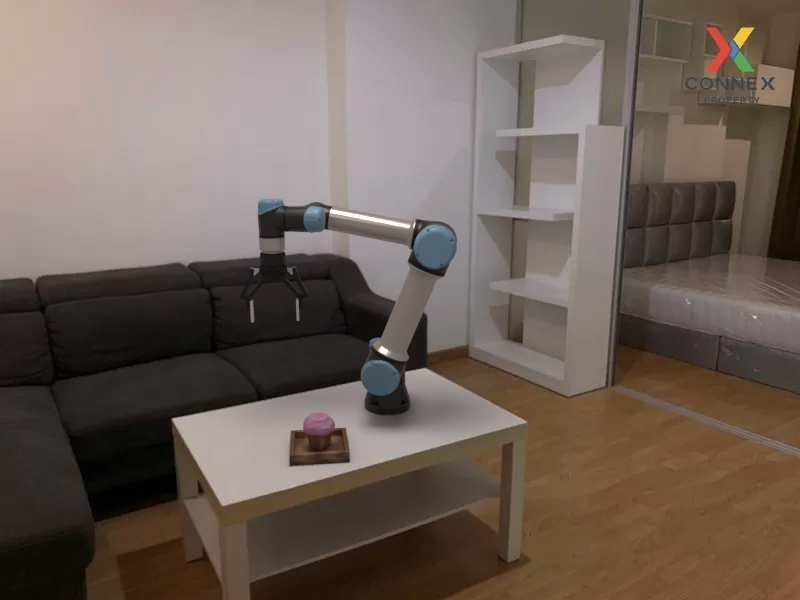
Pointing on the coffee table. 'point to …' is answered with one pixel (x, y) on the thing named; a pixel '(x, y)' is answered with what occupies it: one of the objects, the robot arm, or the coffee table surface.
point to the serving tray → (309, 456)
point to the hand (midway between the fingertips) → (275, 320)
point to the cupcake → (319, 430)
